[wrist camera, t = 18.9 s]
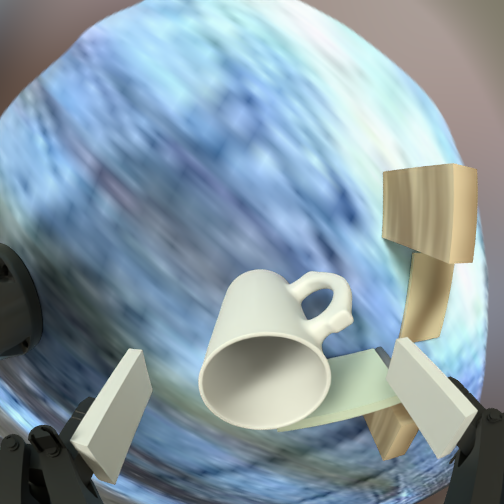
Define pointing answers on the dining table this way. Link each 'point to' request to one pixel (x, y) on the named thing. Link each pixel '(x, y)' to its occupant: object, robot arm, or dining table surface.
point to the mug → (271, 349)
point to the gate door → (353, 389)
